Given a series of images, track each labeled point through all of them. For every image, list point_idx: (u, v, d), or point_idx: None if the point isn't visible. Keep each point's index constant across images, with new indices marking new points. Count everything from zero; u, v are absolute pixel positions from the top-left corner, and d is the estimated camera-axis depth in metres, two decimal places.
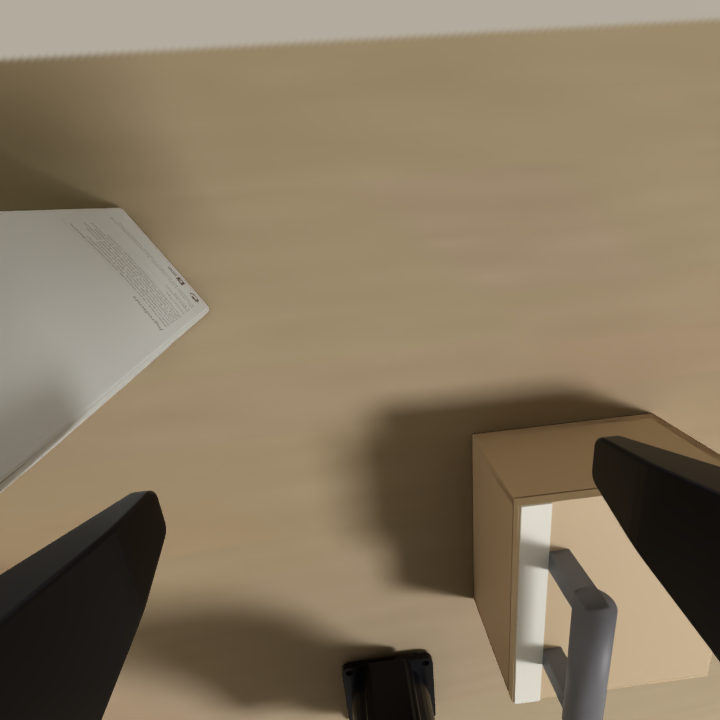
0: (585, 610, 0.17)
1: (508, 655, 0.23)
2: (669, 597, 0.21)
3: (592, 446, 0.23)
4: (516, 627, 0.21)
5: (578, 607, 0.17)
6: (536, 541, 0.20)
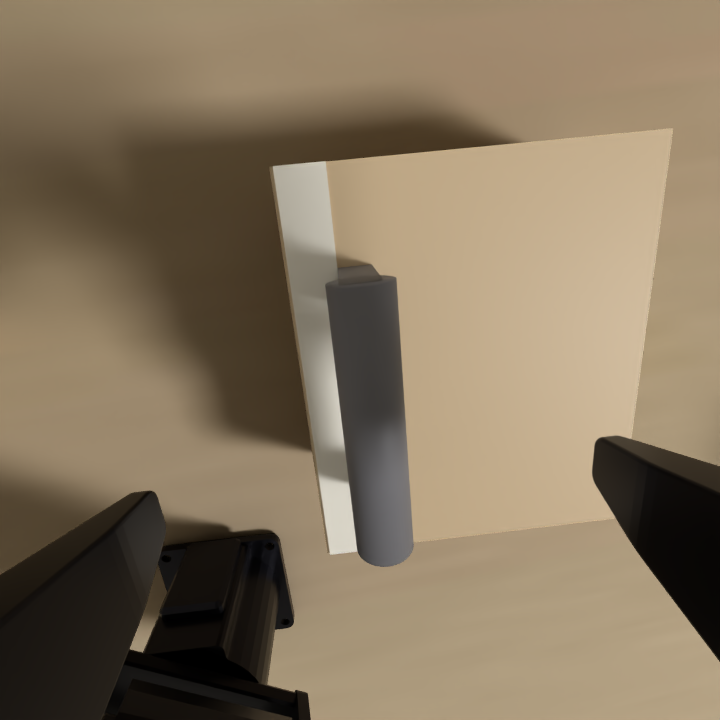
0: (337, 285, 0.09)
1: None
2: (549, 370, 0.14)
3: None
4: (309, 416, 0.14)
5: (328, 285, 0.09)
6: (311, 241, 0.12)
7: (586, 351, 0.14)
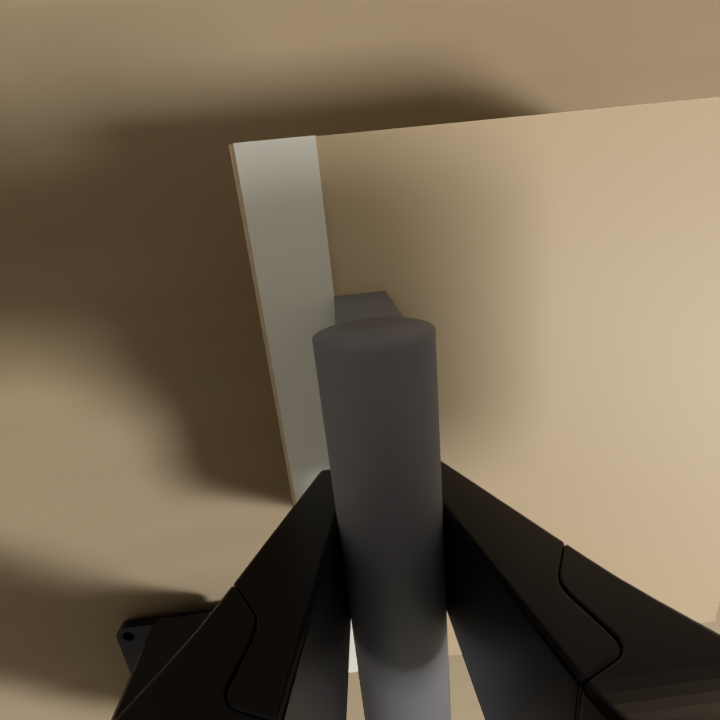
0: (332, 342, 0.05)
1: None
2: (633, 436, 0.10)
3: None
4: (295, 502, 0.10)
5: (318, 339, 0.05)
6: (294, 258, 0.08)
7: (687, 409, 0.10)
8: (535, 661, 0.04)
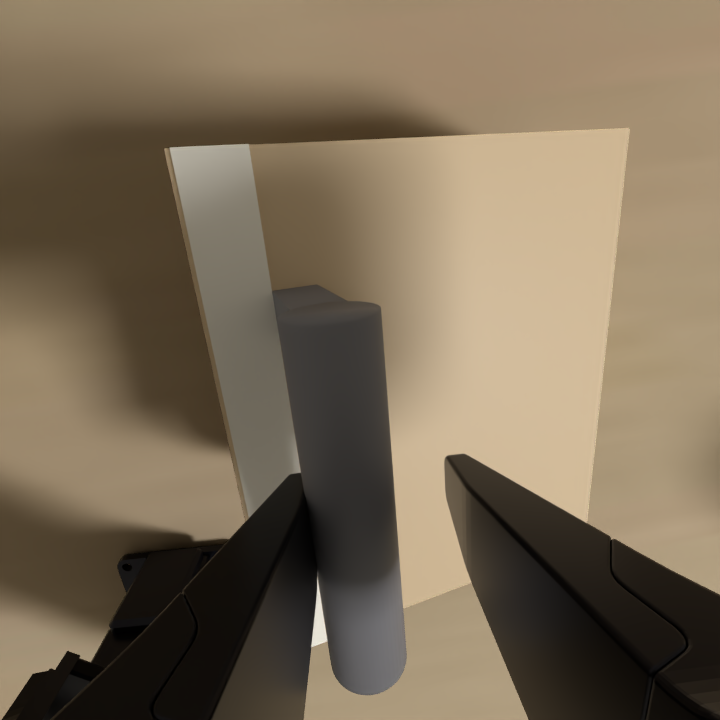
0: (298, 321, 0.06)
1: None
2: (518, 396, 0.12)
3: None
4: (242, 491, 0.10)
5: (284, 321, 0.06)
6: (233, 256, 0.08)
7: (553, 370, 0.12)
8: (593, 653, 0.04)
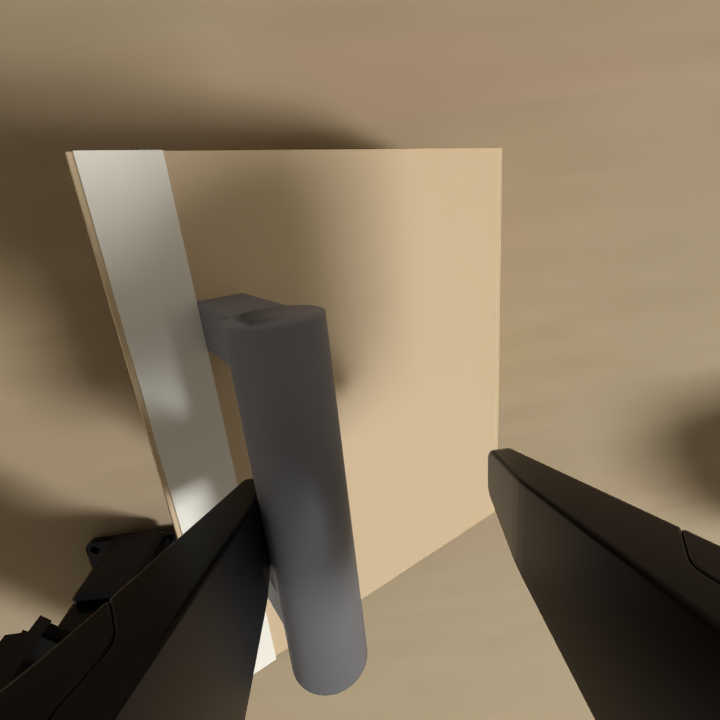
0: (247, 326, 0.06)
1: None
2: (434, 387, 0.13)
3: None
4: (176, 517, 0.09)
5: (231, 327, 0.06)
6: (153, 266, 0.08)
7: (460, 361, 0.14)
8: (682, 641, 0.04)
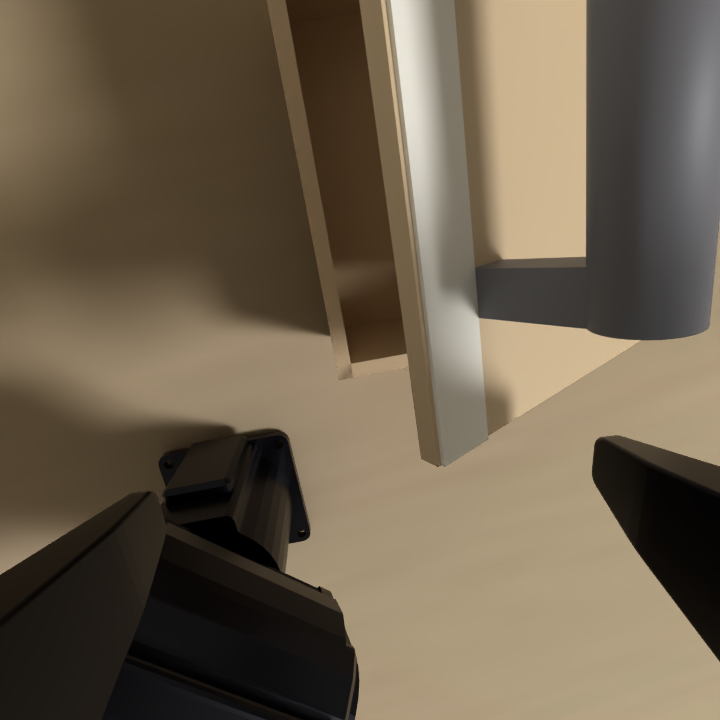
0: None
1: (324, 303, 0.14)
2: None
3: None
4: (405, 178, 0.07)
5: None
6: None
7: None
8: None
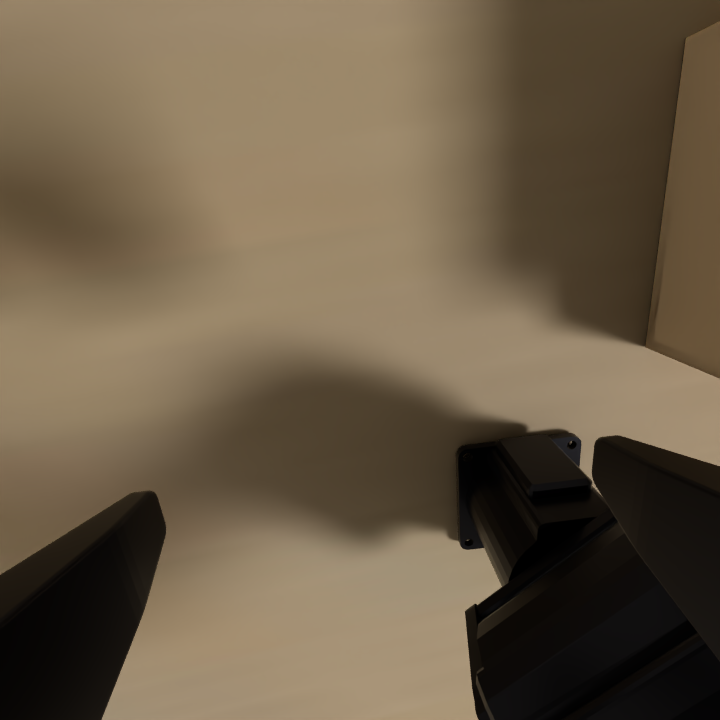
0: None
1: None
2: None
3: None
4: None
5: None
6: None
7: None
8: None
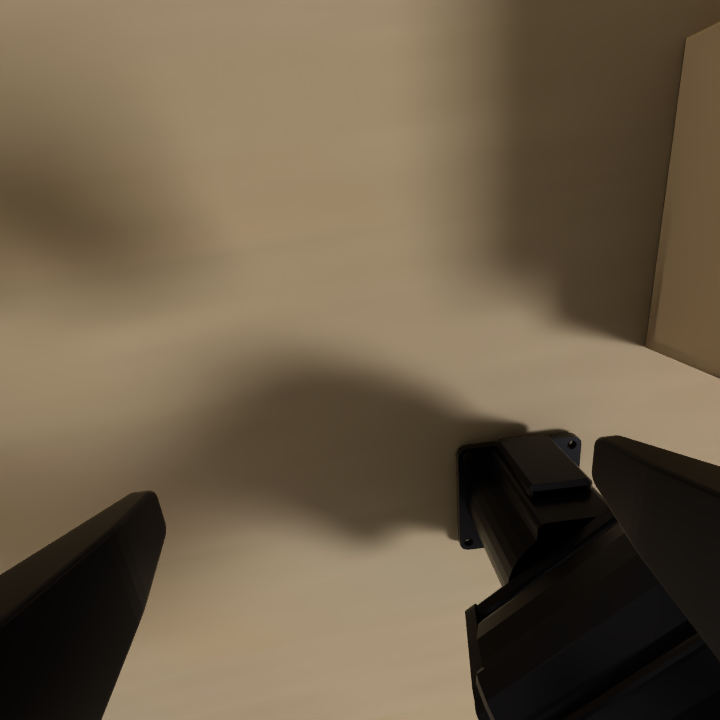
0: None
1: None
2: None
3: None
4: None
5: None
6: None
7: None
8: None
